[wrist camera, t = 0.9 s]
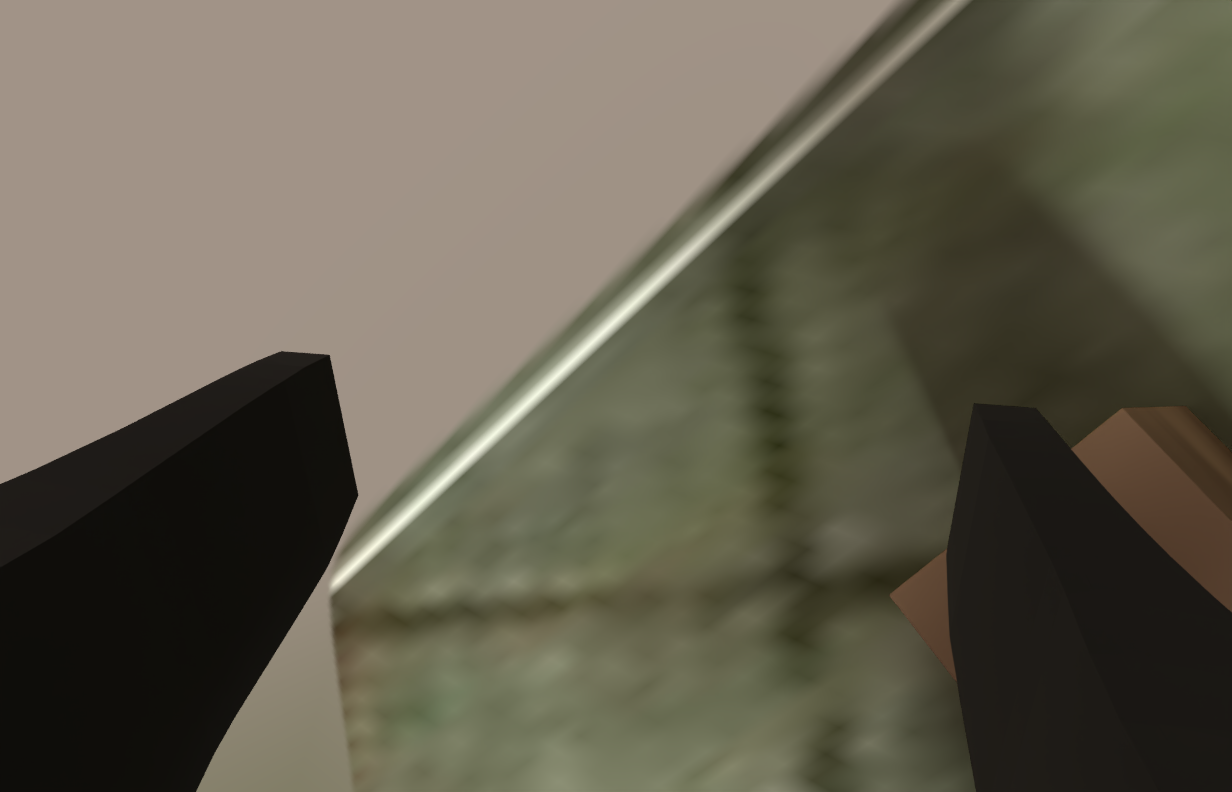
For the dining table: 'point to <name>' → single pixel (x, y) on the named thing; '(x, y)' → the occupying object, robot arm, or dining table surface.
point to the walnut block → (1129, 507)
